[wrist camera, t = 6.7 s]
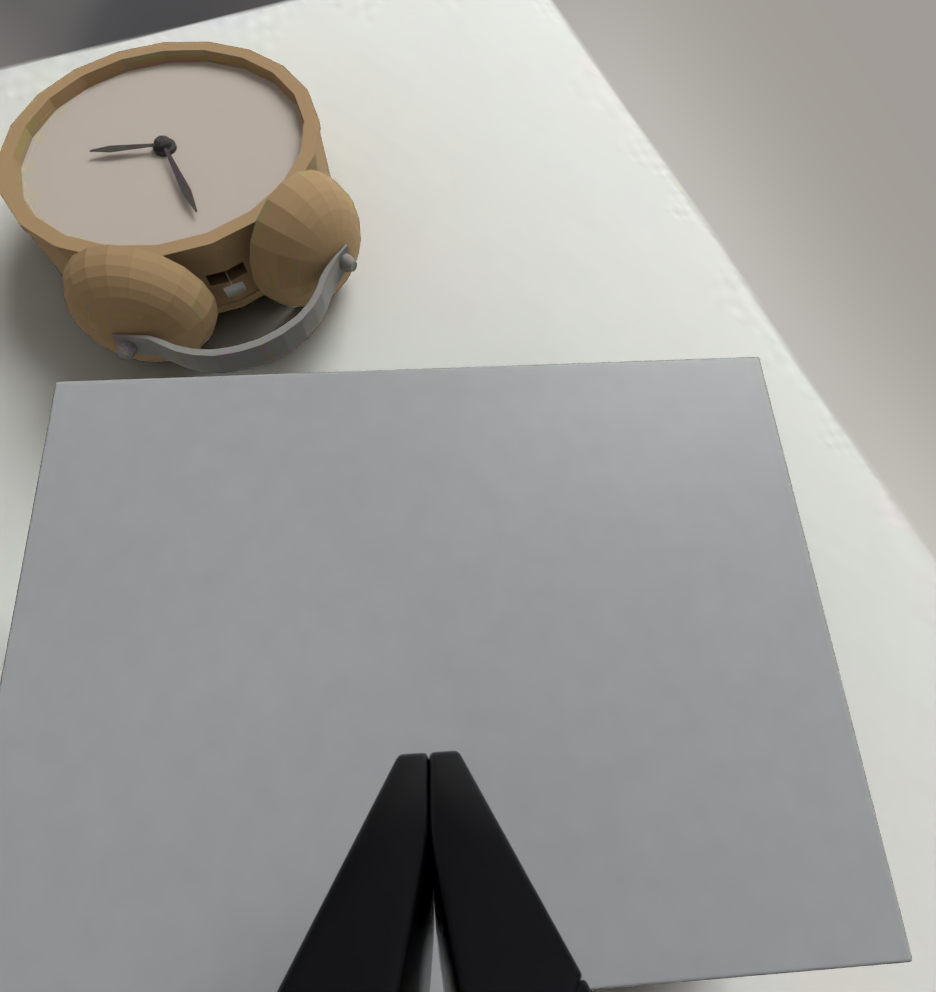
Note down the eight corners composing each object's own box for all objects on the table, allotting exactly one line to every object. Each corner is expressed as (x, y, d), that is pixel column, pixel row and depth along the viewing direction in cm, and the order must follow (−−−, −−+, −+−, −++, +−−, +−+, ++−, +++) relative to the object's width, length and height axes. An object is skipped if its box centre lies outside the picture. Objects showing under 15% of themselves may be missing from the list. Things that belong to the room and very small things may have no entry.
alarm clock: (252, 7, 26) (410, 213, 19) (288, 127, 30) (427, 330, 23) (-33, 93, 24) (31, 359, 17) (49, 209, 28) (126, 459, 21)
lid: (73, 397, 15) (55, 380, 15) (745, 373, 16) (759, 355, 16) (-35, 1028, 11) (-71, 1049, 10) (885, 948, 12) (915, 962, 11)
